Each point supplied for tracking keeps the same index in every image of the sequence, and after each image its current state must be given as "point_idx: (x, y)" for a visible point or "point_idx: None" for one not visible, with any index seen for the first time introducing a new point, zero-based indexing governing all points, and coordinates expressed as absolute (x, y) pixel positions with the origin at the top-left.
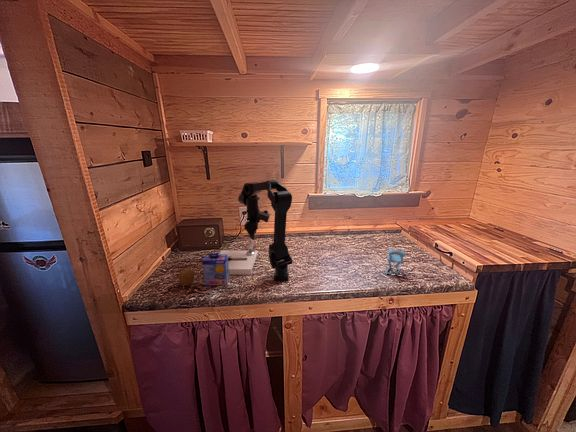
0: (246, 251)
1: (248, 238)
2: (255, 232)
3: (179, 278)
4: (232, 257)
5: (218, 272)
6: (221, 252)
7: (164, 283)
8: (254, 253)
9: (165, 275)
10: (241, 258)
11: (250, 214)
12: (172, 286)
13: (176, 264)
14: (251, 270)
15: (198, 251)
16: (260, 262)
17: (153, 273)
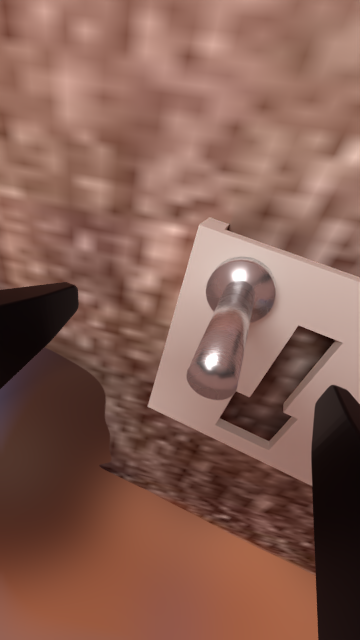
0: (191, 307)
1: (221, 399)
2: (68, 295)
3: None
4: (249, 393)
5: None
6: (171, 412)
7: (311, 542)
8: (265, 269)
9: (258, 526)
10: (277, 353)
11: None
12: None
13: (196, 493)
14: None
15: (115, 434)
16: (343, 218)
17: (233, 532)
